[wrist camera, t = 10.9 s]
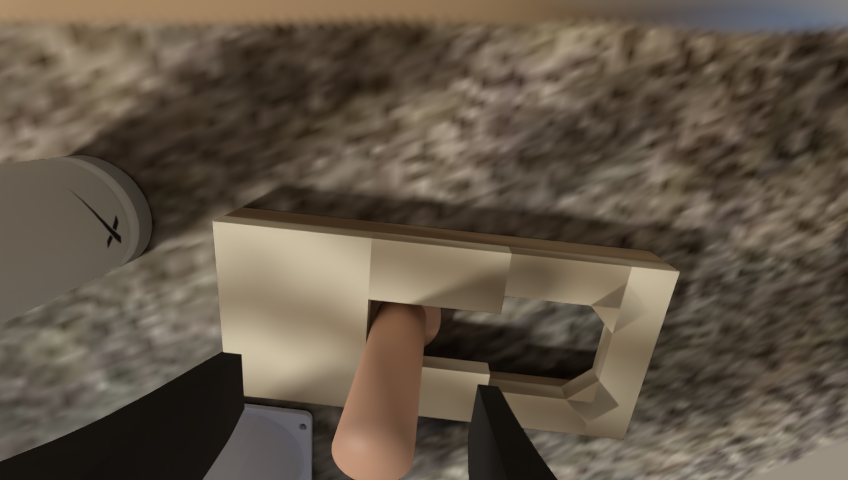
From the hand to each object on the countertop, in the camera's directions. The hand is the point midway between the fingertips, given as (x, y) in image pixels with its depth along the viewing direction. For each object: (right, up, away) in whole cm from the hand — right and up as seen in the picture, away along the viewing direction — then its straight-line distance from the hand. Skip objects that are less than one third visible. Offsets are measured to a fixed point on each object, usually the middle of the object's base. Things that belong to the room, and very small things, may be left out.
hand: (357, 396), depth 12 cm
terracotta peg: (+1, +1, +11) cm, 11 cm away
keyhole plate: (+3, +1, +11) cm, 11 cm away
